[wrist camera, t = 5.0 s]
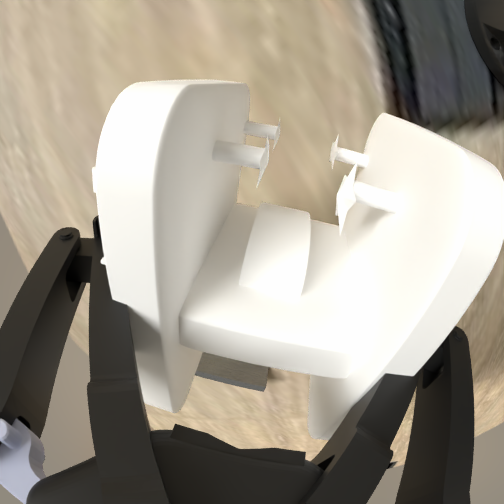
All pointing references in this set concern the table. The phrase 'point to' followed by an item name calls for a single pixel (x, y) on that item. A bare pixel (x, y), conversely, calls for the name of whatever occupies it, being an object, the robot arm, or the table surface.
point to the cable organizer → (285, 247)
